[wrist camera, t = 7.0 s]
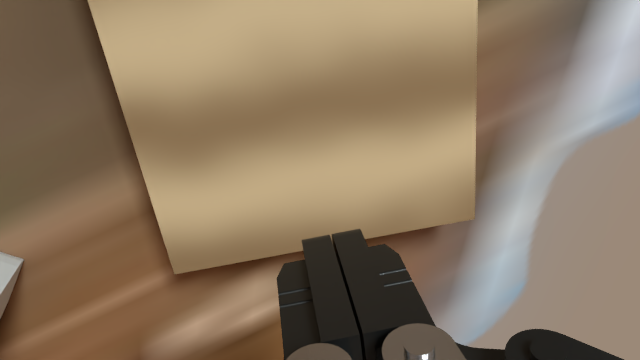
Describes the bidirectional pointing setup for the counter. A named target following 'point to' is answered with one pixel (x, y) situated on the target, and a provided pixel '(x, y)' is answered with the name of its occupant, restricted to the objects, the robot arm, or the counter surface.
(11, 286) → the decorative molding
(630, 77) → the counter surface
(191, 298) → the counter surface
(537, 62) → the counter surface
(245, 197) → the oak plank
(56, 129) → the counter surface
